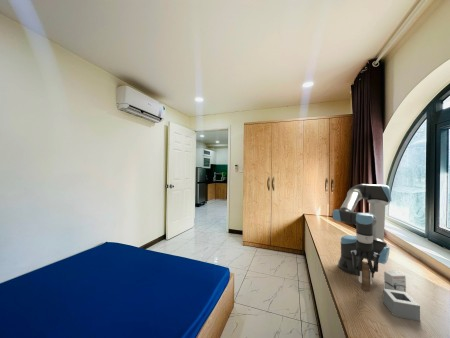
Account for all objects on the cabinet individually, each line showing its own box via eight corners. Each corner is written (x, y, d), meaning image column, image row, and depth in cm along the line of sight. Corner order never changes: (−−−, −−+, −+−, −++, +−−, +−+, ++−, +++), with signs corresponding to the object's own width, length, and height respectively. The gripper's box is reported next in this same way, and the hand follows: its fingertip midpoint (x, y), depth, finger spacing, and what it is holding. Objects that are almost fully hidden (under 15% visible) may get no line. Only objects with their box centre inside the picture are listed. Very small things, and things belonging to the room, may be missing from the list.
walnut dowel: (359, 286, 104) (359, 260, 104) (367, 287, 103) (367, 261, 103) (362, 291, 100) (362, 264, 100) (371, 292, 99) (370, 265, 99)
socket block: (383, 301, 98) (383, 288, 98) (406, 305, 95) (406, 292, 95) (394, 316, 88) (394, 301, 88) (420, 321, 85) (420, 305, 85)
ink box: (391, 296, 102) (391, 276, 102) (383, 290, 107) (383, 271, 107) (406, 296, 102) (406, 275, 102) (397, 290, 107) (397, 270, 107)
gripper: (349, 242, 100) (350, 283, 101) (386, 245, 95) (387, 289, 95) (344, 237, 107) (345, 275, 108) (379, 240, 102) (379, 280, 103)
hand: (365, 282), depth 102 cm, fingers closed on walnut dowel, 4 cm apart
